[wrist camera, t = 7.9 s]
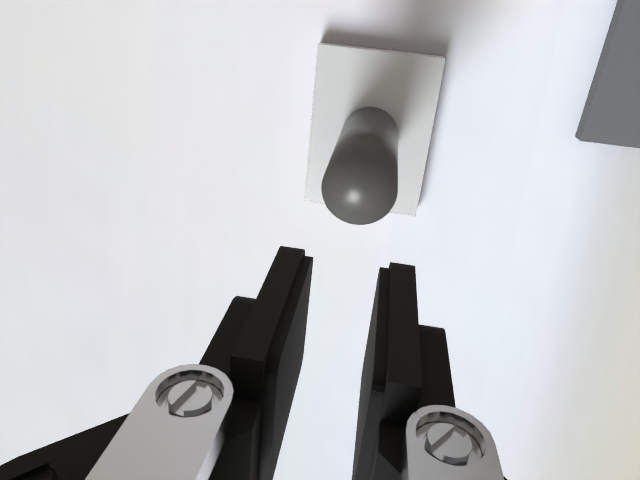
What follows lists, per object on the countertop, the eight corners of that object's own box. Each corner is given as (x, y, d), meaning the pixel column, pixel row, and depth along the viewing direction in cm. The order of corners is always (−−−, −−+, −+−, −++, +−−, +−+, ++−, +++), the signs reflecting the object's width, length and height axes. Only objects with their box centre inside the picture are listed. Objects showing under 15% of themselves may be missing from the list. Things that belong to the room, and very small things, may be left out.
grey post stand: (415, 208, 29) (421, 294, 21) (307, 194, 29) (272, 272, 21) (444, 56, 25) (465, 88, 17) (320, 41, 26) (285, 67, 18)
